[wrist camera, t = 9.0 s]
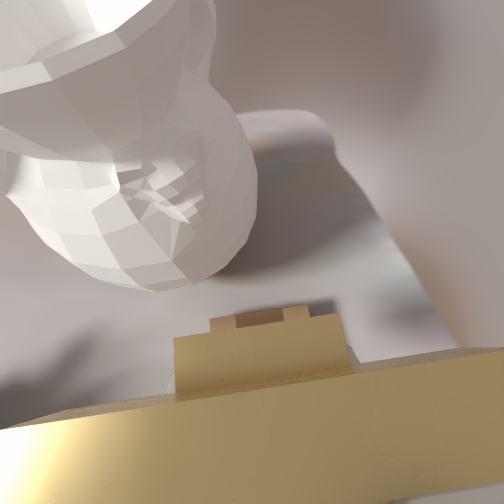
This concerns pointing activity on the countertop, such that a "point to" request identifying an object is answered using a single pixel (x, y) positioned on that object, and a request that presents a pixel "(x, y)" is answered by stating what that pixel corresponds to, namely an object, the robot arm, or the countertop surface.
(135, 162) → the white vase
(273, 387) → the t key
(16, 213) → the countertop surface
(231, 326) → the socket block
